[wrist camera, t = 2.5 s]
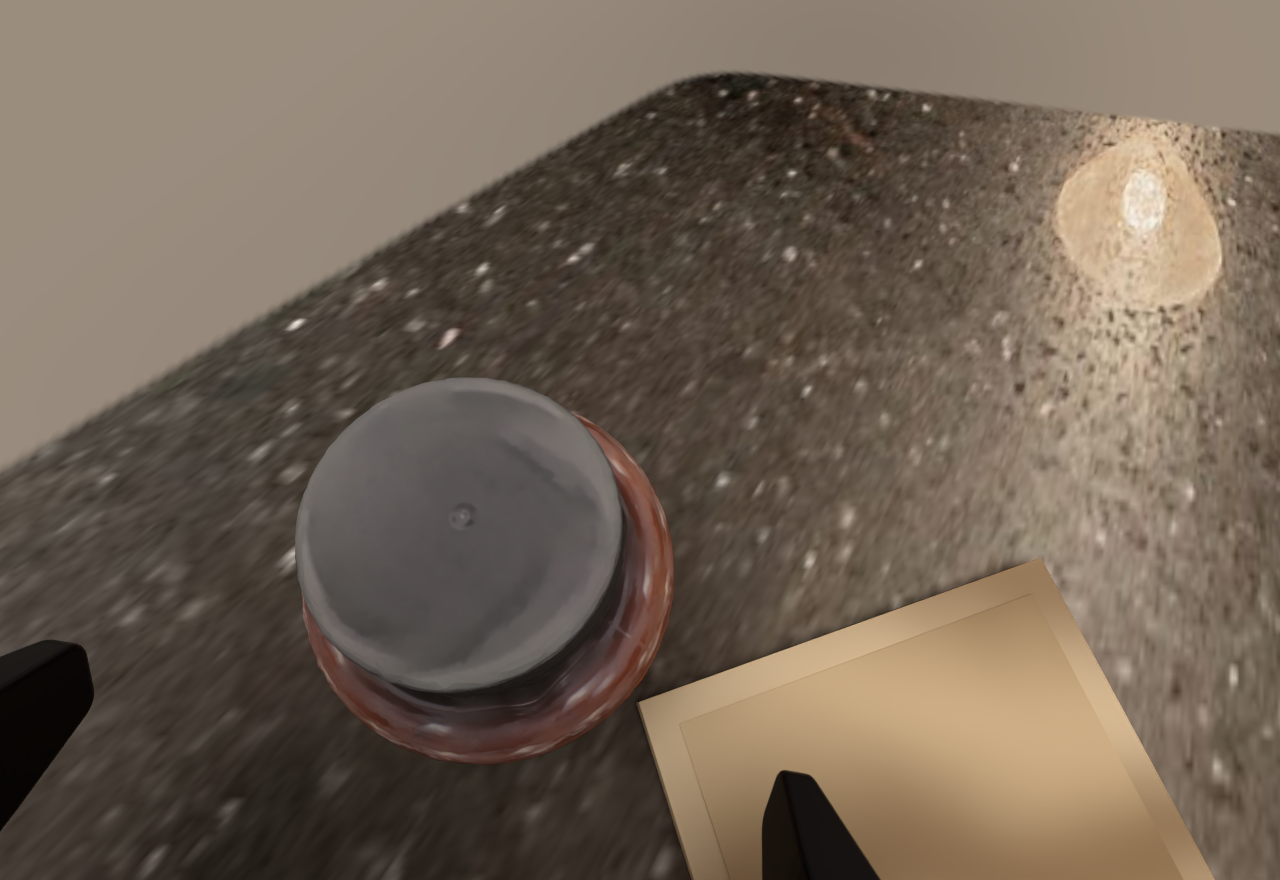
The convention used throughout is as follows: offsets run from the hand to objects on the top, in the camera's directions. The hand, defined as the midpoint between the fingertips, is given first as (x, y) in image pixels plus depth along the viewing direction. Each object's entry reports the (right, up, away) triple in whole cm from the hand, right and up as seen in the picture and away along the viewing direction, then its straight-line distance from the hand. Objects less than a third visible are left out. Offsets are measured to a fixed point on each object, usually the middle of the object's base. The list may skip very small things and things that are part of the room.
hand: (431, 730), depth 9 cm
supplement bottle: (0, -1, +10) cm, 10 cm away
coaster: (+10, -7, +8) cm, 15 cm away
